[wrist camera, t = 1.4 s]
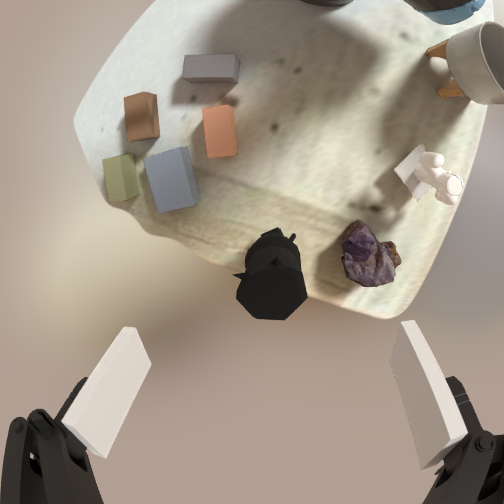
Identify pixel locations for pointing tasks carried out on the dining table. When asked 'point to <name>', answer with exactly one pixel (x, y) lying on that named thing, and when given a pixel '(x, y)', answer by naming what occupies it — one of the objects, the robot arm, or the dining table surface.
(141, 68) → the dining table surface
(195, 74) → the charcoal block
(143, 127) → the walnut block
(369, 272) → the rock
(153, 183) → the slate slab
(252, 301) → the toy
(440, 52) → the planter
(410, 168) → the figurine
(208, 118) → the terracotta block
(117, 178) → the olive block
